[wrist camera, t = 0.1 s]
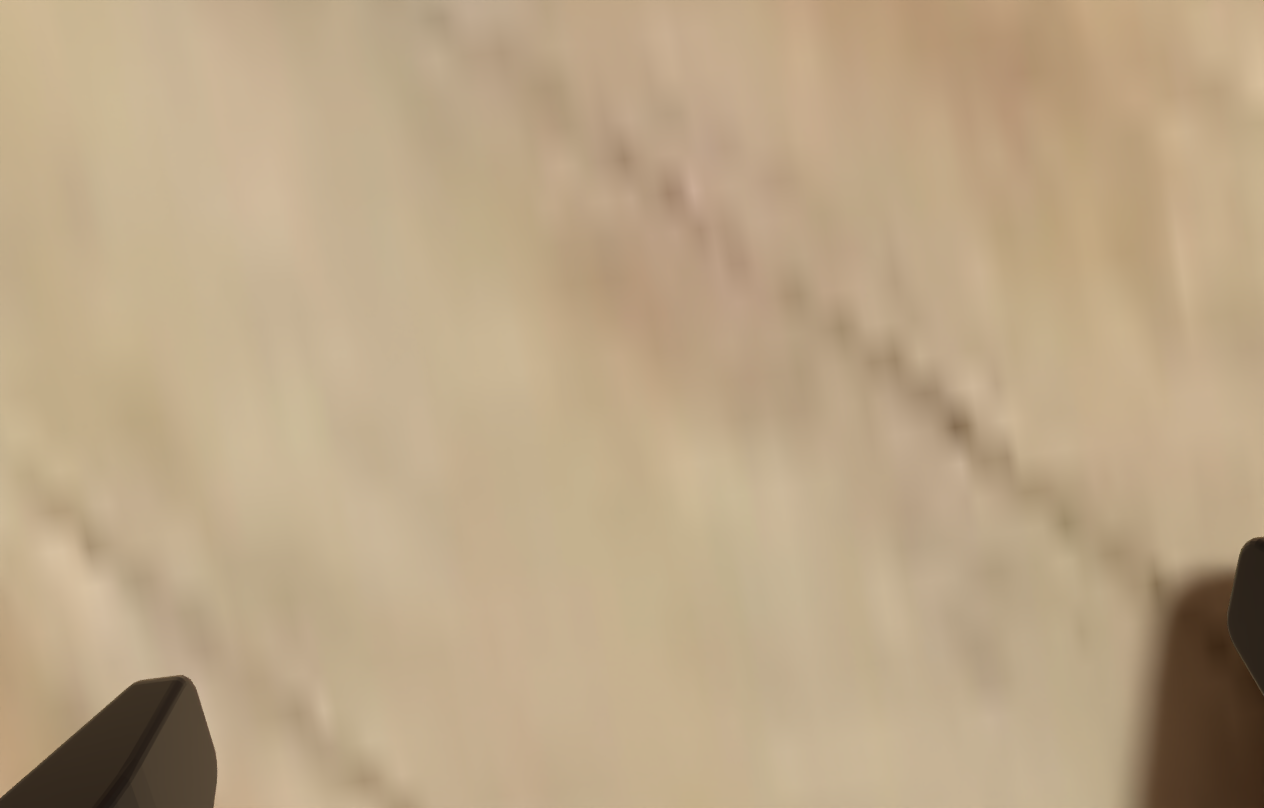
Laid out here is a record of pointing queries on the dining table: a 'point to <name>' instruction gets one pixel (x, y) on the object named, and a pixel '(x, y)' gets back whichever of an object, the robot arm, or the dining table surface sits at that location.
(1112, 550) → the dining table surface
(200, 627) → the dining table surface
